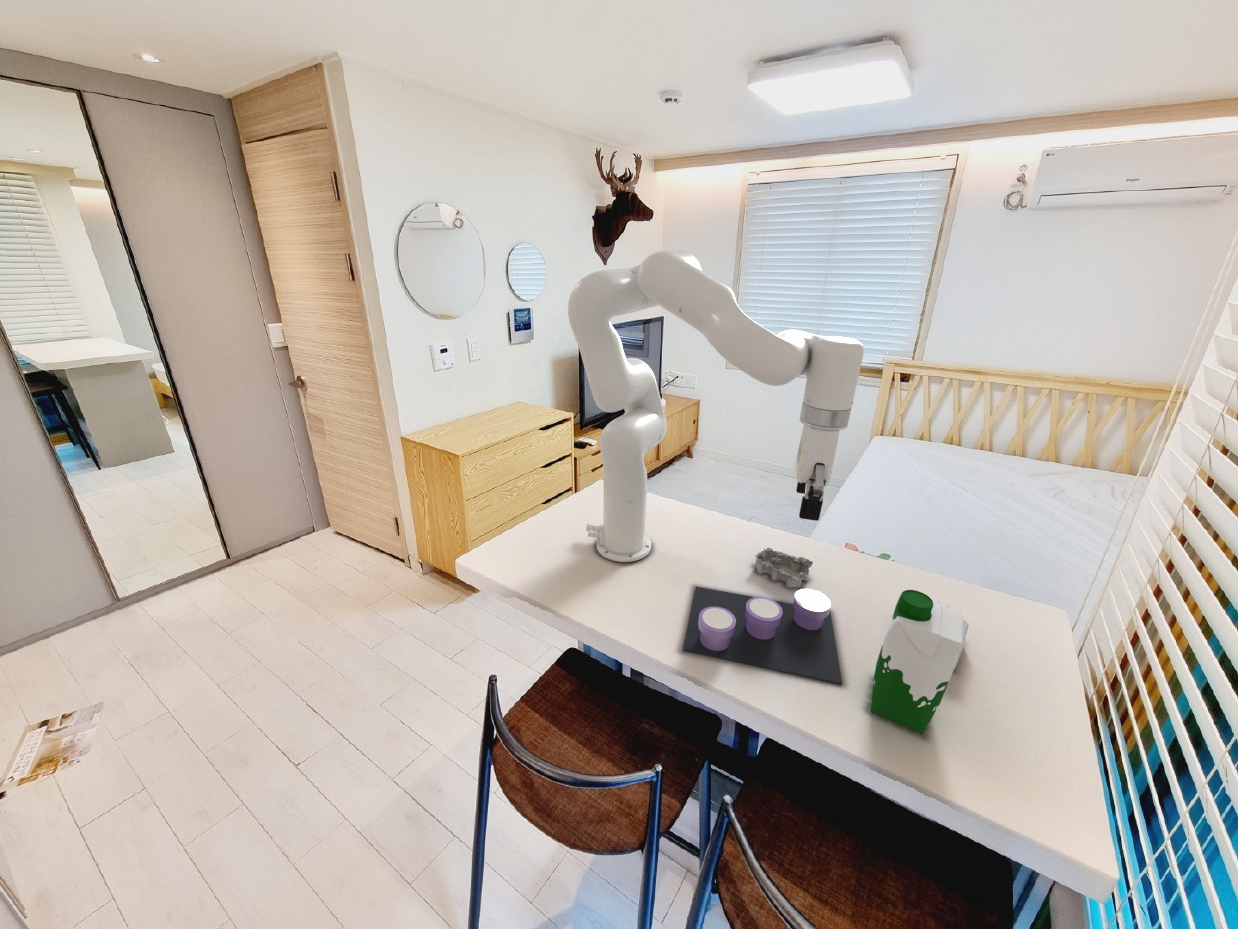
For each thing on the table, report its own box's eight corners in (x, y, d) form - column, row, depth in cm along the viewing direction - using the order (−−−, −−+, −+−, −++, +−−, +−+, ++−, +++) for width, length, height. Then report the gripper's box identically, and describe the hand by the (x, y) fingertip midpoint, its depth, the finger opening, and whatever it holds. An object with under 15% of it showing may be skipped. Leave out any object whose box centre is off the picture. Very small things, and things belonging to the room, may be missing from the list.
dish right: (790, 628, 92) (795, 607, 90) (789, 606, 98) (793, 585, 96) (827, 635, 91) (832, 614, 89) (824, 612, 97) (829, 591, 95)
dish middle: (741, 637, 90) (745, 616, 88) (743, 614, 96) (746, 593, 94) (778, 645, 89) (783, 623, 87) (778, 620, 94) (782, 600, 92)
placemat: (682, 650, 87) (682, 649, 87) (695, 587, 103) (696, 586, 103) (842, 684, 81) (842, 683, 81) (830, 612, 97) (830, 610, 97)
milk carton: (871, 674, 83) (901, 576, 75) (933, 699, 79) (973, 598, 71) (862, 713, 77) (895, 610, 68) (930, 742, 72) (974, 636, 64)
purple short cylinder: (694, 648, 87) (696, 627, 85) (698, 624, 93) (701, 603, 91) (731, 656, 86) (735, 634, 84) (733, 631, 92) (737, 609, 90)
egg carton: (812, 578, 107) (816, 562, 105) (794, 593, 102) (797, 576, 101) (768, 555, 114) (771, 540, 112) (749, 568, 109) (752, 553, 108)
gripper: (798, 397, 91) (783, 482, 98) (804, 429, 76) (786, 526, 83) (842, 401, 89) (824, 487, 97) (857, 435, 74) (834, 533, 81)
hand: (806, 505), depth 90 cm, fingers open, 9 cm apart
